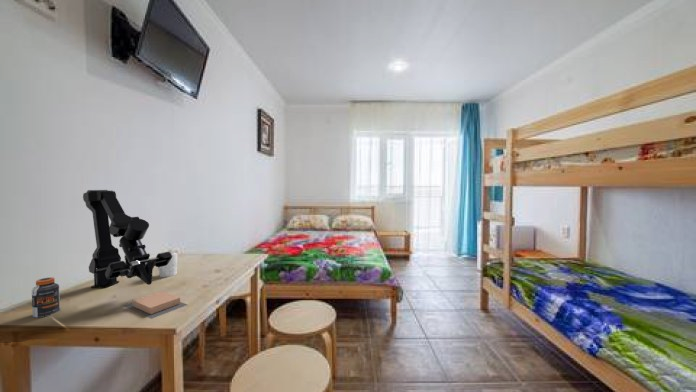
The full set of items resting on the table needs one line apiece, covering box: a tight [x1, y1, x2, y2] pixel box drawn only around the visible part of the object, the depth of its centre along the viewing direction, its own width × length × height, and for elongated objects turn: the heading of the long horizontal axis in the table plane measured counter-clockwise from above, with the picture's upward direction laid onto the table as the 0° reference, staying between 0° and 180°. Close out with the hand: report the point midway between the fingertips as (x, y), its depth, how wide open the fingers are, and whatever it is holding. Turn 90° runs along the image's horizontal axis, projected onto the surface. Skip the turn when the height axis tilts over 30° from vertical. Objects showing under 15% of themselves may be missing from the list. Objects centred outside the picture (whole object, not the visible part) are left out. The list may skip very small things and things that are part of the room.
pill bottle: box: [31, 277, 61, 318], centre depth 88 cm, size 6×6×11 cm
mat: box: [123, 301, 188, 319], centre depth 93 cm, size 19×11×1 cm, turn 60°
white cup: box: [156, 250, 178, 278], centre depth 125 cm, size 8×8×10 cm
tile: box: [131, 290, 181, 314], centre depth 93 cm, size 2×9×12 cm
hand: (150, 283), depth 95 cm, fingers closed
